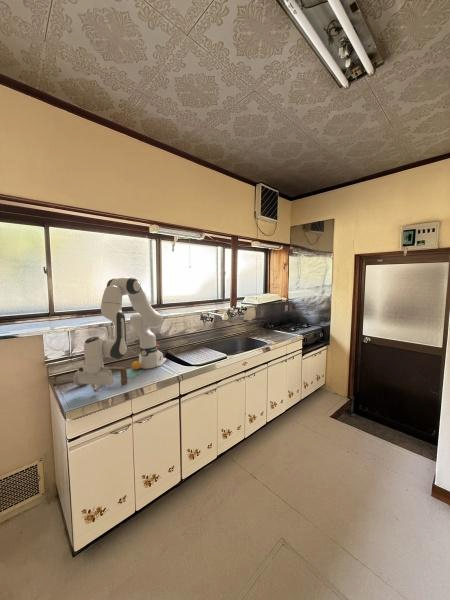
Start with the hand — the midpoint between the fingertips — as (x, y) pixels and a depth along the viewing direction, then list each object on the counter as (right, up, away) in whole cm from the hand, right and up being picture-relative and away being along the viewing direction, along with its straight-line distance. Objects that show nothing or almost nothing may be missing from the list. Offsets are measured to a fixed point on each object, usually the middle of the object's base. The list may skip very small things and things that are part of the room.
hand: (96, 391), depth 134 cm
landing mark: (+7, +1, +29) cm, 30 cm away
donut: (-15, -1, +13) cm, 20 cm away
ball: (+8, +5, +37) cm, 38 cm away
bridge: (+4, 0, +15) cm, 15 cm away
